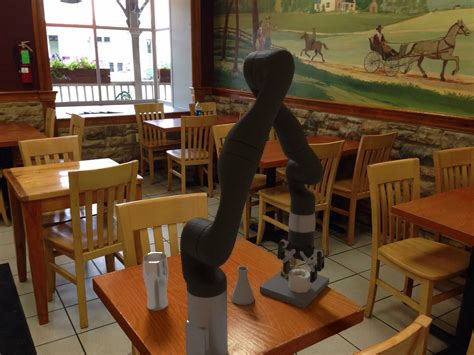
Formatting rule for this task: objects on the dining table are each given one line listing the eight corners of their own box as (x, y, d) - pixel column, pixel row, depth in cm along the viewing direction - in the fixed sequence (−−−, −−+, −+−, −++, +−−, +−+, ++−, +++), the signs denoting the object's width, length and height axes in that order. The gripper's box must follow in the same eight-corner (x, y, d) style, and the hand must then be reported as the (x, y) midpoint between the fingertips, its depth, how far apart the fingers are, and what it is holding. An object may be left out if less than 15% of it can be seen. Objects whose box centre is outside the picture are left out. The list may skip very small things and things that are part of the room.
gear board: (304, 308, 116) (304, 291, 114) (259, 292, 124) (259, 275, 123) (329, 283, 129) (330, 268, 127) (287, 270, 137) (287, 255, 136)
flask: (252, 307, 116) (253, 275, 114) (228, 304, 118) (227, 272, 115) (256, 293, 123) (257, 263, 121) (233, 291, 125) (233, 261, 122)
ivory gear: (303, 294, 119) (304, 280, 118) (285, 288, 122) (285, 274, 121) (312, 286, 124) (313, 272, 122) (295, 280, 127) (295, 267, 126)
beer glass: (145, 313, 114) (142, 264, 110) (144, 300, 120) (141, 253, 116) (171, 309, 115) (168, 261, 111) (168, 296, 122) (166, 250, 118)
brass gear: (296, 282, 126) (296, 273, 125) (275, 275, 130) (275, 266, 130) (307, 272, 132) (307, 264, 131) (287, 266, 136) (287, 258, 135)
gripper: (273, 224, 119) (272, 275, 123) (318, 236, 111) (315, 290, 115) (286, 217, 125) (285, 266, 129) (330, 228, 117) (327, 279, 121)
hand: (299, 277), depth 122 cm, fingers open, 8 cm apart
